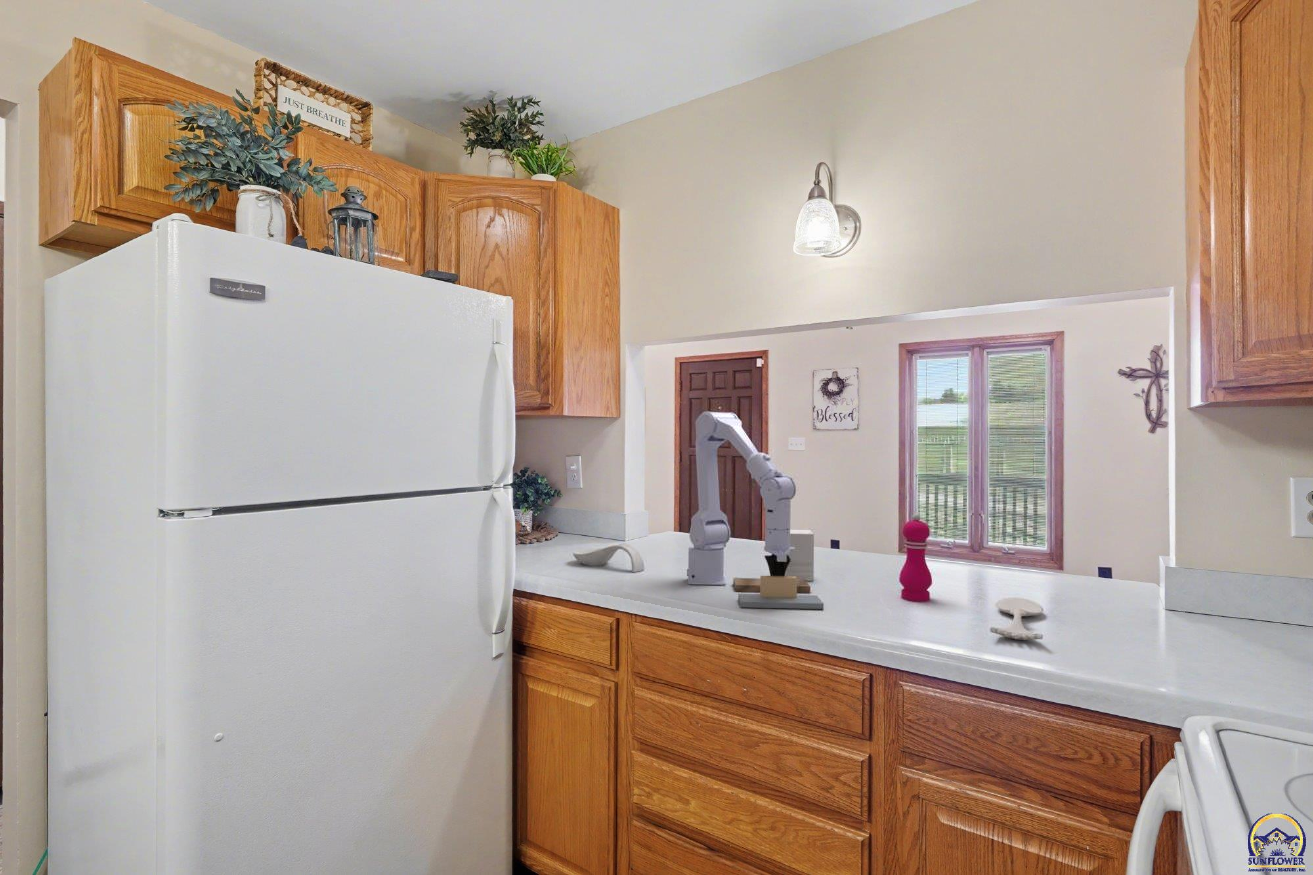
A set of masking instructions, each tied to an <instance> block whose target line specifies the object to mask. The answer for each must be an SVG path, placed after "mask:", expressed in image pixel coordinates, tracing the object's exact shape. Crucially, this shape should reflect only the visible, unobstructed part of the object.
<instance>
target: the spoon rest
mask: <svg viewBox="0 0 1313 875" xmlns="http://www.w3.org/2000/svg"><path fill="white" fill-rule="evenodd" d="M618 550H622V551H624V552H625V553H627V554H628V556H629V558H630V561H631V562H630V563H631V572H632V573H634V574H635V573H639V572H643V571H644V570H645V564H644V560H643V558H642V556H641V554H640V553H639V551H638V550H637V549H636V548H635V547H634V546H633V545H630V544H627V543H620V544H618V545H617V544H616V545H609V546H606V547H604V548H591V549H583V550H578V551H575V552H573V553H572V555H573V557H574V558H575V560H576V561H578V562H579V563H581V564H583V565H585V566H589V567H598V566H599V567H600V566H605V565H606V563H608V562H609V561H611V559H612V558H613V556H614V555H615V554H616V552H617V551H618Z"/></svg>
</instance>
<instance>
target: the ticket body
mask: <svg viewBox="0 0 1313 875" xmlns="http://www.w3.org/2000/svg"><path fill="white" fill-rule="evenodd" d="M760 578H761V577H760ZM760 578H756V577H755V578H754V577H749V578H748V577H746V578H745V577H732V582H733V583H732V584H733V588H734V592H737V593H740V592H741V593H743V592H744V593H760ZM797 594H811V585H810V584H809V583H808V581H805V579H797Z"/></svg>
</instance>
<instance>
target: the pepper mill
mask: <svg viewBox="0 0 1313 875" xmlns="http://www.w3.org/2000/svg"><path fill="white" fill-rule="evenodd" d="M911 518H912V520H909V521H907V522H905V523H904V524H903V526H902V536H903V537H904V538H905V540H904V548H906V559H905V562H904V564H903V566H902V568H901V570H900V573H899V576H898V577H899V580H898V581H899V583H900V584H901V586H902V587H903V588H901V591H900V592H901V595H900V596H901V598H902V599H904V600H906V601H910V602H928V601H930V599H931V598H930V597H931V596H930V593H931V592H930V591H929V590H928V589H929V588H930V587H931V586H932V585H933V577H932V573H931V571H930V569H929V567H928V565H927V560H926V549H927V548H928V542H927V540H928V538H929V537H930V534H931V530H930V527H929V525H928V524H927V523H926V522H925V521H922V520H921V516H920V514H918V513H914V514H913V515H912V516H911Z"/></svg>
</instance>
